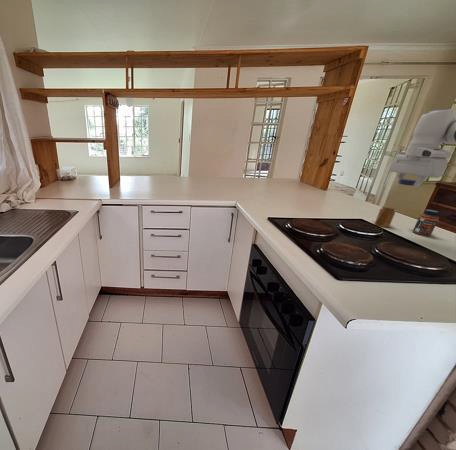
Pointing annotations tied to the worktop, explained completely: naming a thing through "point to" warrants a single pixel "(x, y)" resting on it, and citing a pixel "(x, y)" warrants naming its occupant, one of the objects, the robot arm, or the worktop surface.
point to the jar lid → (406, 181)
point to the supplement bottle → (426, 223)
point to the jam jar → (385, 216)
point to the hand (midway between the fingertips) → (407, 185)
